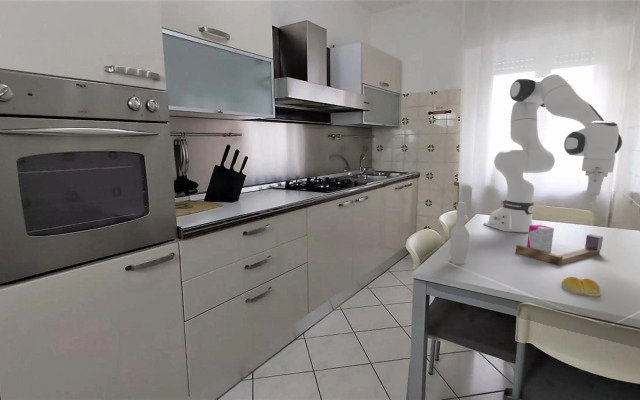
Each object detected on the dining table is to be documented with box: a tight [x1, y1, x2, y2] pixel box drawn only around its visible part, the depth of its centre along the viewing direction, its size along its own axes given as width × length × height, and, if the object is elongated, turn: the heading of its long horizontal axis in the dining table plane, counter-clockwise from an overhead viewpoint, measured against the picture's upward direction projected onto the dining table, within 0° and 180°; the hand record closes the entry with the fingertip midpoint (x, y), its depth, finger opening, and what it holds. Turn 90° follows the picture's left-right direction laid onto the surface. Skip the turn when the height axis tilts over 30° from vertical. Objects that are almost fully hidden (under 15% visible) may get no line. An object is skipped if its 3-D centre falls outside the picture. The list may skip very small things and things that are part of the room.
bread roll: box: [561, 276, 601, 298], centre depth 98 cm, size 8×9×4 cm
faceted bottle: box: [449, 201, 470, 265], centre depth 119 cm, size 6×6×22 cm
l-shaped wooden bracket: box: [515, 234, 604, 266], centre depth 130 cm, size 16×28×7 cm, turn 117°
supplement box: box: [526, 224, 555, 253], centre depth 128 cm, size 6×6×12 cm
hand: (591, 203), depth 125 cm, fingers closed
